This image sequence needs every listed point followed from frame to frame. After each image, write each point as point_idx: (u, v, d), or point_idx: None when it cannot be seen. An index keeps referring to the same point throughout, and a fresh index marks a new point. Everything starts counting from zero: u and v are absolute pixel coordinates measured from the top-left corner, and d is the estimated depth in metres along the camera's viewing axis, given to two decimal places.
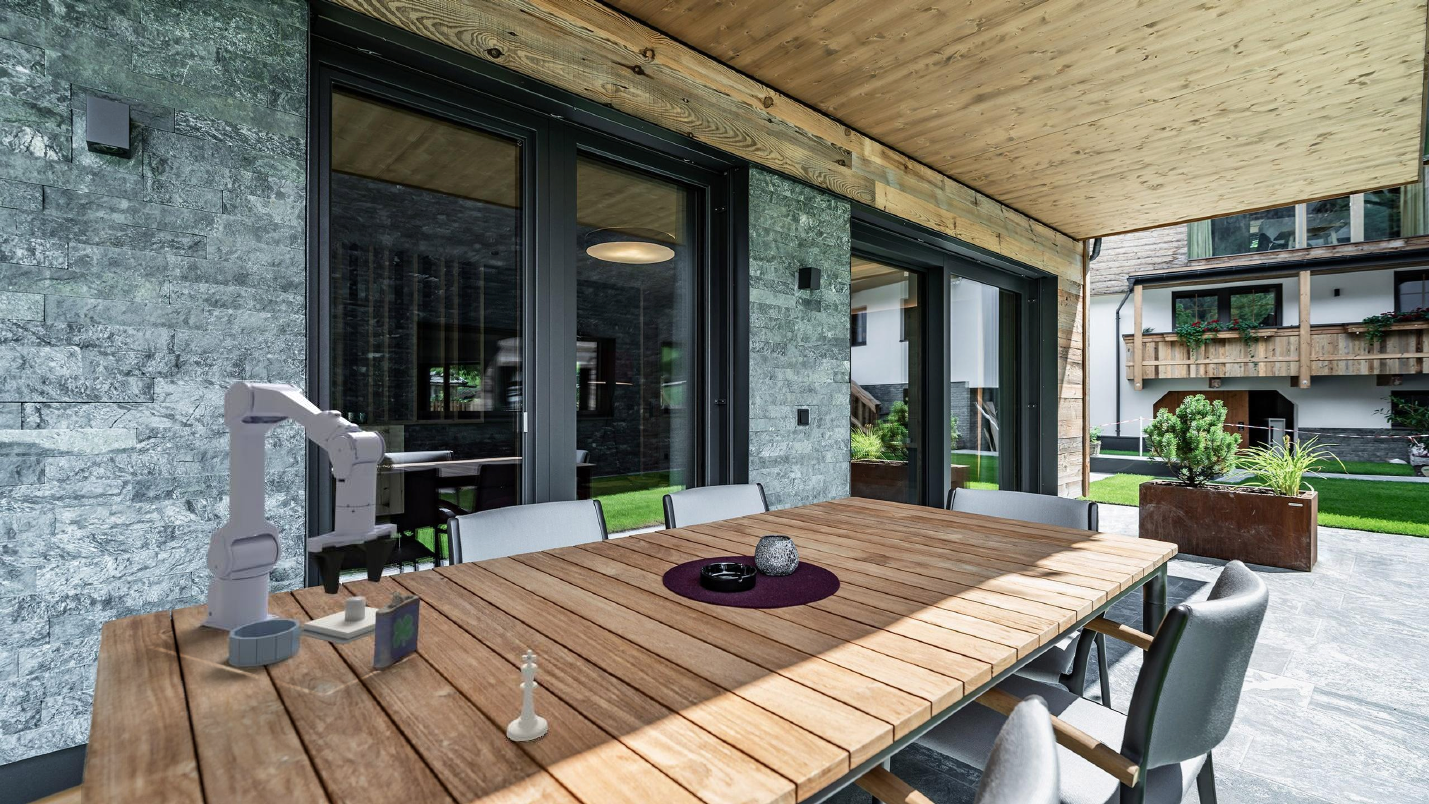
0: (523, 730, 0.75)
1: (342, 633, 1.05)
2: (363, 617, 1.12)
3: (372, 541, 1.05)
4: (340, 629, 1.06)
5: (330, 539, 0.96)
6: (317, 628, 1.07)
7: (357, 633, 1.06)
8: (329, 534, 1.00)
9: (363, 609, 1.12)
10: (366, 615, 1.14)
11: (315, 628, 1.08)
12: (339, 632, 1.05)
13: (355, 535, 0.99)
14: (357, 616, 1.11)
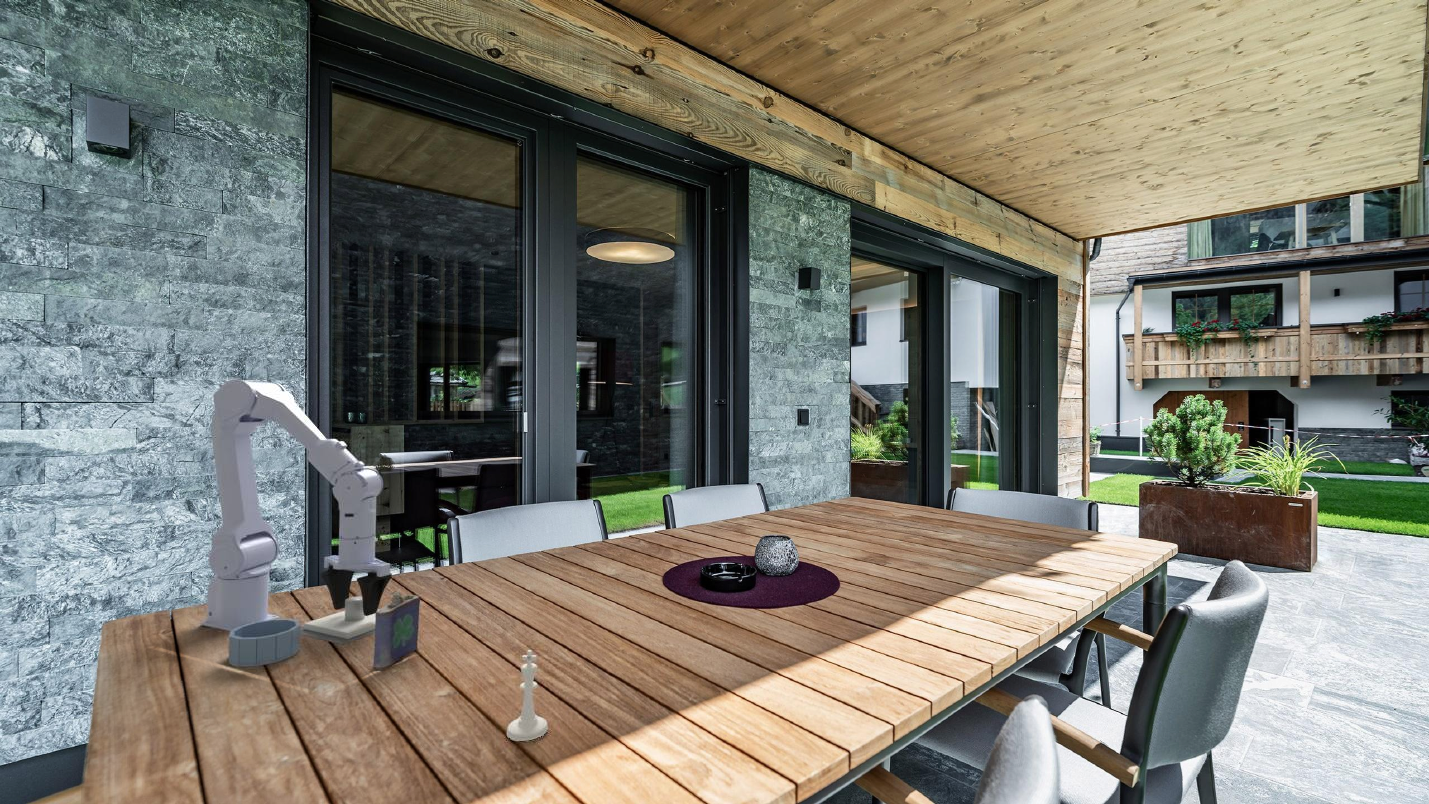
0: (523, 730, 0.75)
1: (342, 633, 1.05)
2: (363, 617, 1.12)
3: None
4: (340, 629, 1.06)
5: (330, 560, 1.13)
6: (317, 628, 1.07)
7: (357, 633, 1.06)
8: None
9: None
10: None
11: (315, 628, 1.08)
12: (339, 632, 1.05)
13: (338, 562, 1.10)
14: (357, 616, 1.11)
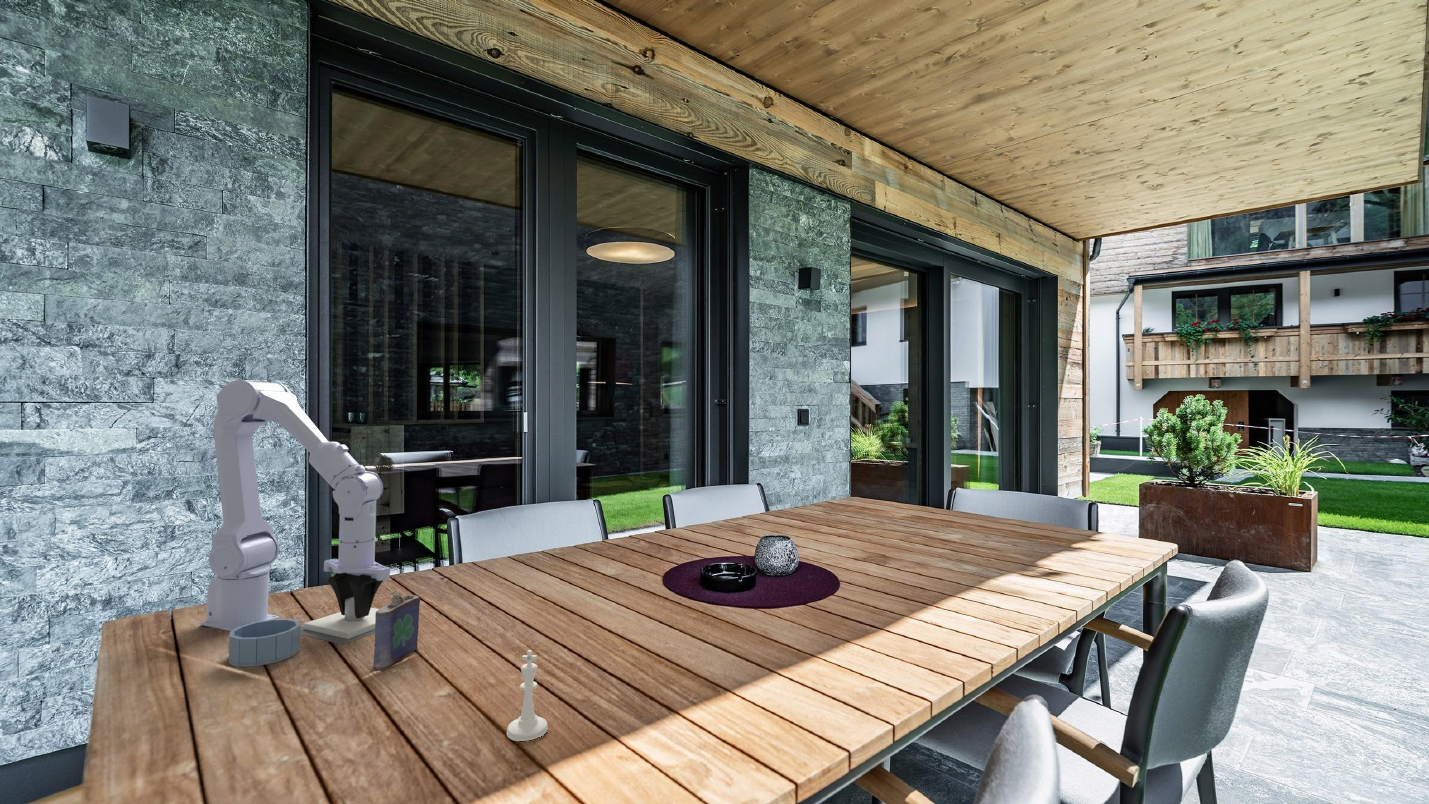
0: (523, 730, 0.75)
1: (342, 633, 1.05)
2: (363, 617, 1.12)
3: None
4: (340, 629, 1.06)
5: (329, 564, 1.13)
6: (317, 628, 1.07)
7: (357, 633, 1.06)
8: None
9: None
10: None
11: (315, 628, 1.08)
12: (339, 632, 1.05)
13: (338, 566, 1.10)
14: None
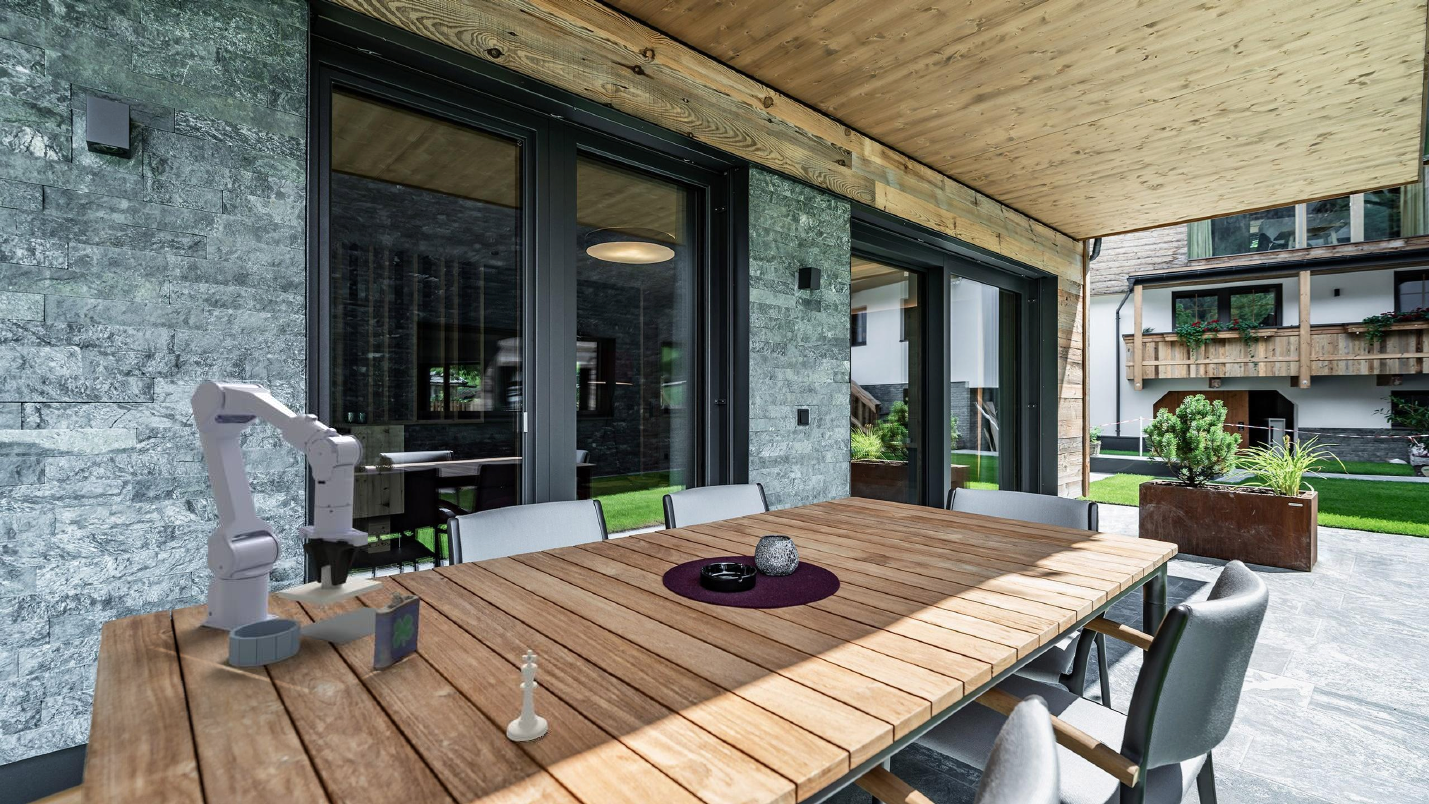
0: (523, 730, 0.75)
1: (318, 600, 1.01)
2: (340, 585, 1.07)
3: None
4: (316, 597, 1.02)
5: (305, 530, 1.08)
6: (292, 596, 1.03)
7: (334, 600, 1.02)
8: None
9: None
10: (344, 583, 1.10)
11: (290, 596, 1.03)
12: (315, 599, 1.01)
13: (313, 532, 1.06)
14: None
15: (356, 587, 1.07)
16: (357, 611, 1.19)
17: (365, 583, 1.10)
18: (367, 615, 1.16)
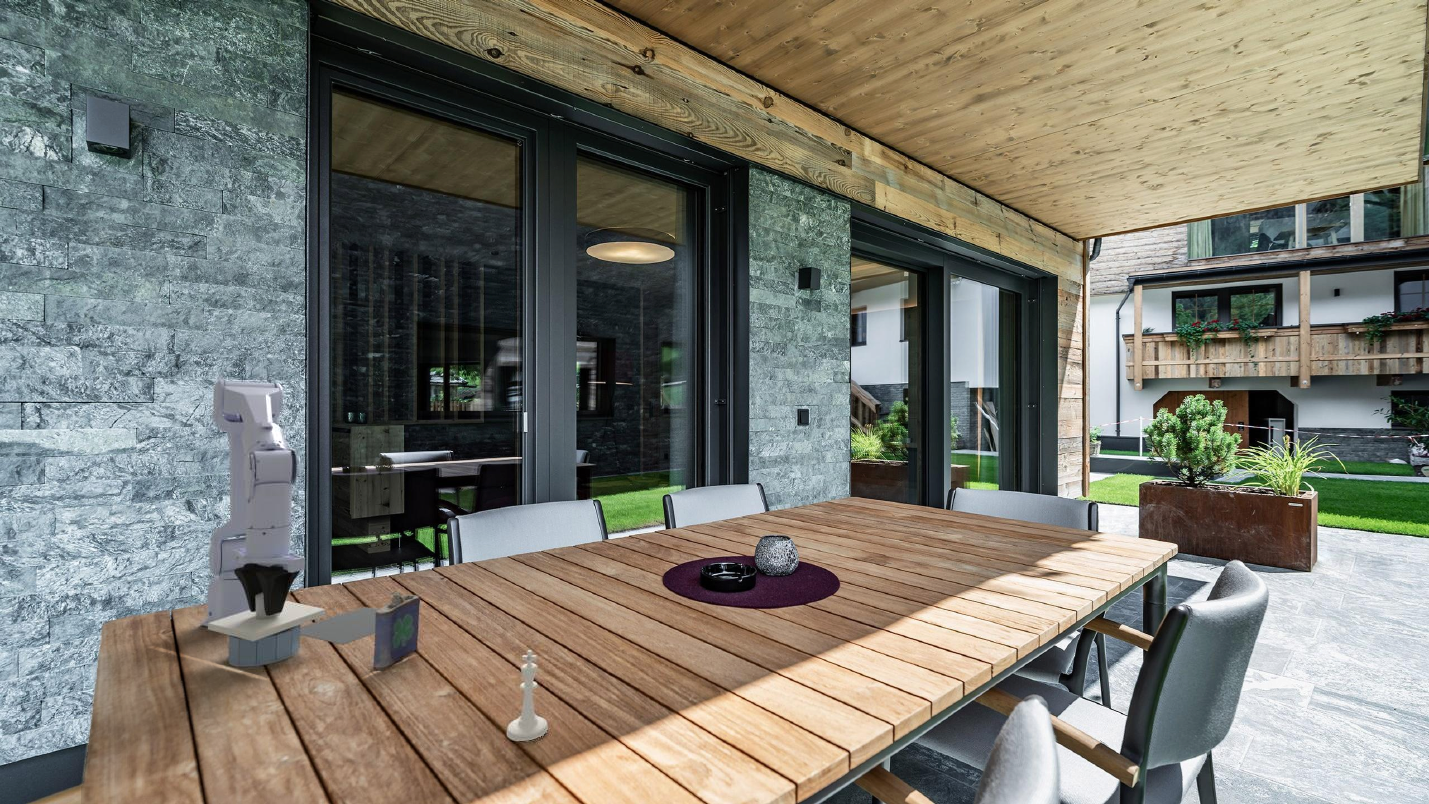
0: (523, 730, 0.75)
1: (247, 635, 0.91)
2: (277, 614, 0.98)
3: None
4: (246, 630, 0.92)
5: (238, 553, 0.98)
6: (221, 629, 0.94)
7: (266, 634, 0.92)
8: None
9: None
10: (283, 611, 1.00)
11: (219, 629, 0.94)
12: (244, 633, 0.91)
13: (245, 556, 0.96)
14: None
15: (294, 616, 0.97)
16: (357, 611, 1.19)
17: (306, 611, 1.00)
18: (367, 615, 1.16)
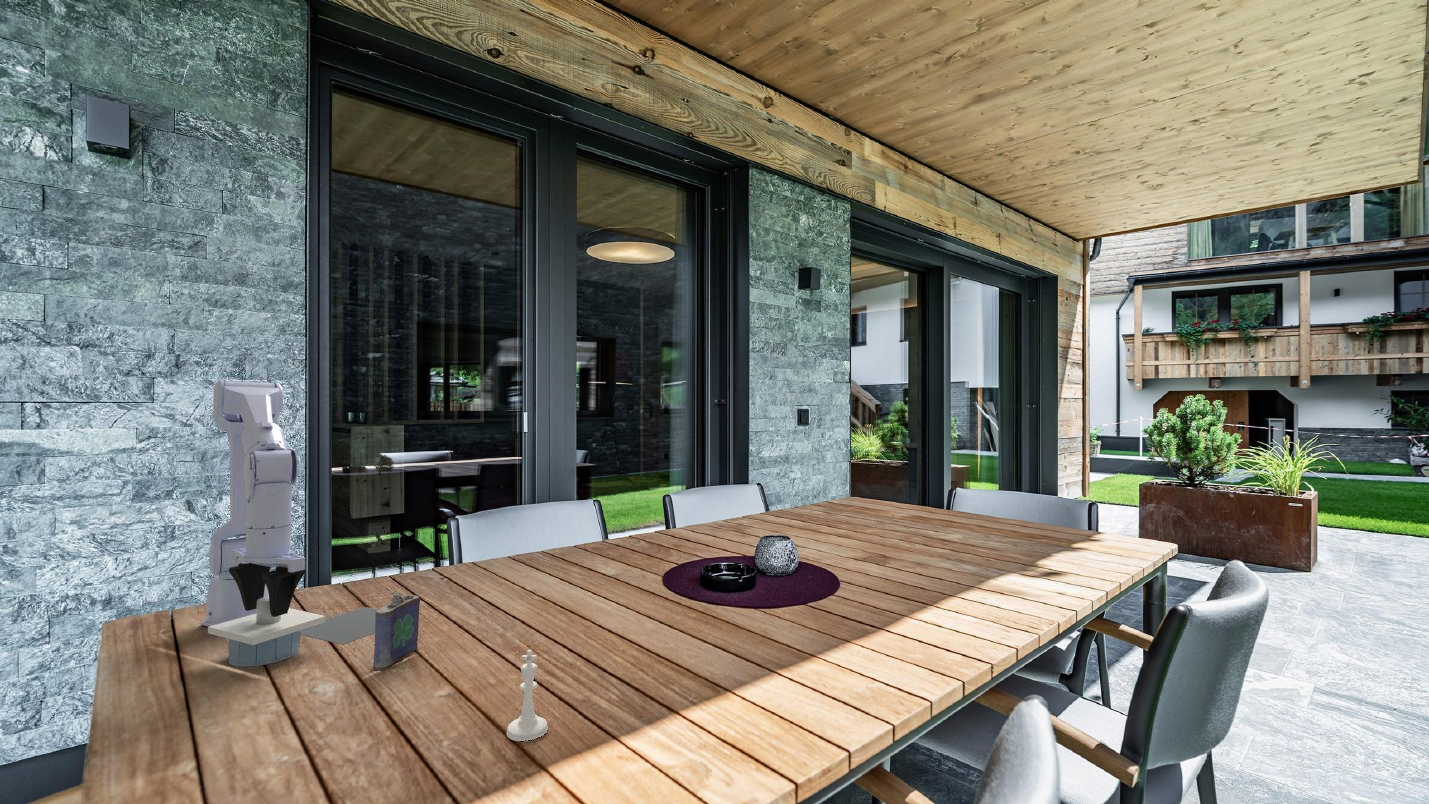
0: (523, 730, 0.75)
1: (247, 638, 0.91)
2: (278, 619, 0.98)
3: None
4: (246, 634, 0.92)
5: (238, 553, 0.98)
6: (221, 632, 0.94)
7: (265, 638, 0.92)
8: None
9: None
10: (283, 617, 1.00)
11: (219, 632, 0.94)
12: (244, 637, 0.91)
13: (245, 556, 0.96)
14: (270, 619, 0.97)
15: (295, 622, 0.97)
16: (357, 611, 1.19)
17: (306, 617, 1.00)
18: (367, 615, 1.16)
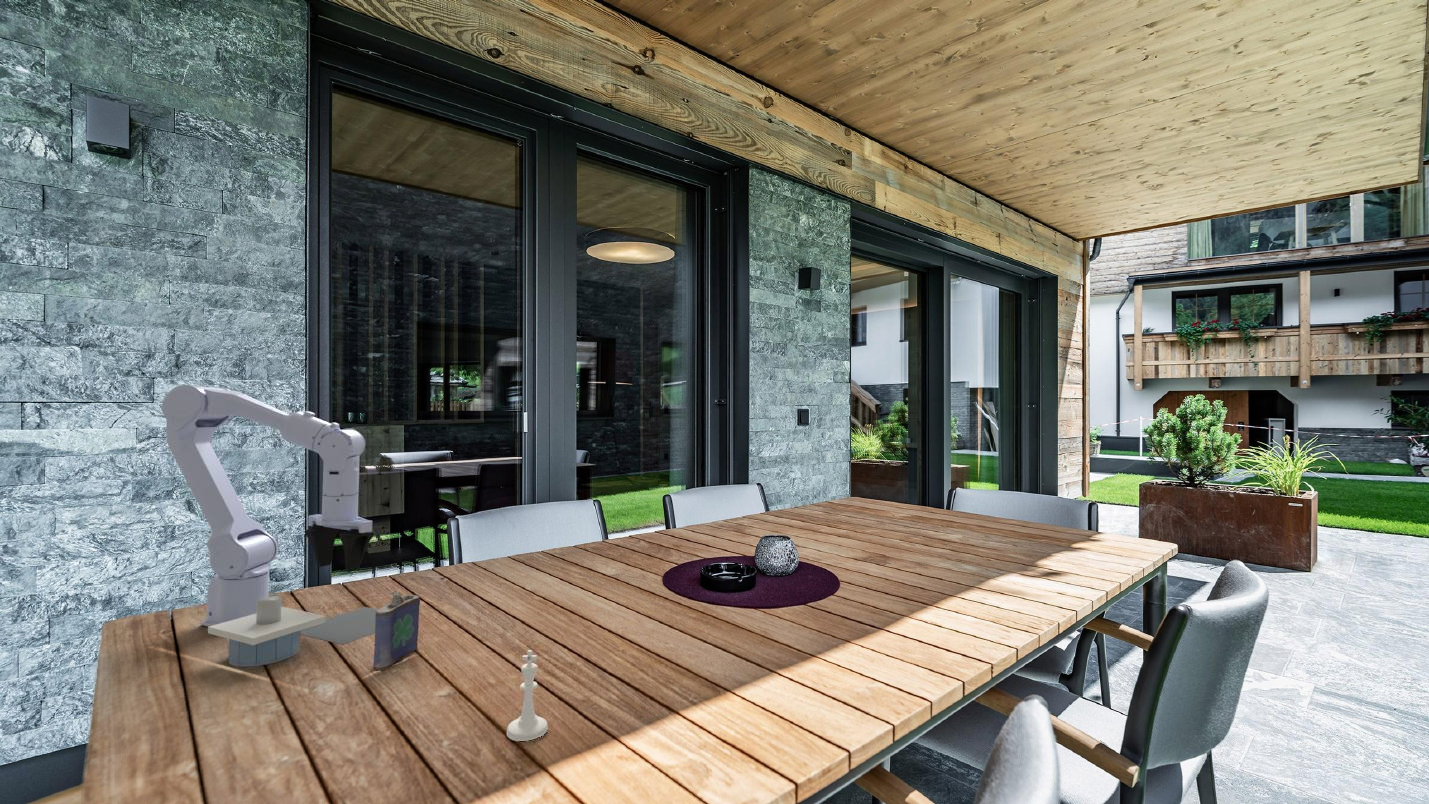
0: (523, 730, 0.75)
1: (247, 638, 0.91)
2: (278, 619, 0.98)
3: None
4: (246, 634, 0.92)
5: (314, 518, 1.15)
6: (221, 632, 0.94)
7: (265, 638, 0.92)
8: None
9: (278, 611, 0.98)
10: (283, 617, 1.00)
11: (219, 632, 0.94)
12: (244, 637, 0.91)
13: (321, 519, 1.12)
14: (270, 619, 0.97)
15: (295, 622, 0.97)
16: (357, 611, 1.19)
17: (306, 617, 1.00)
18: (367, 615, 1.16)
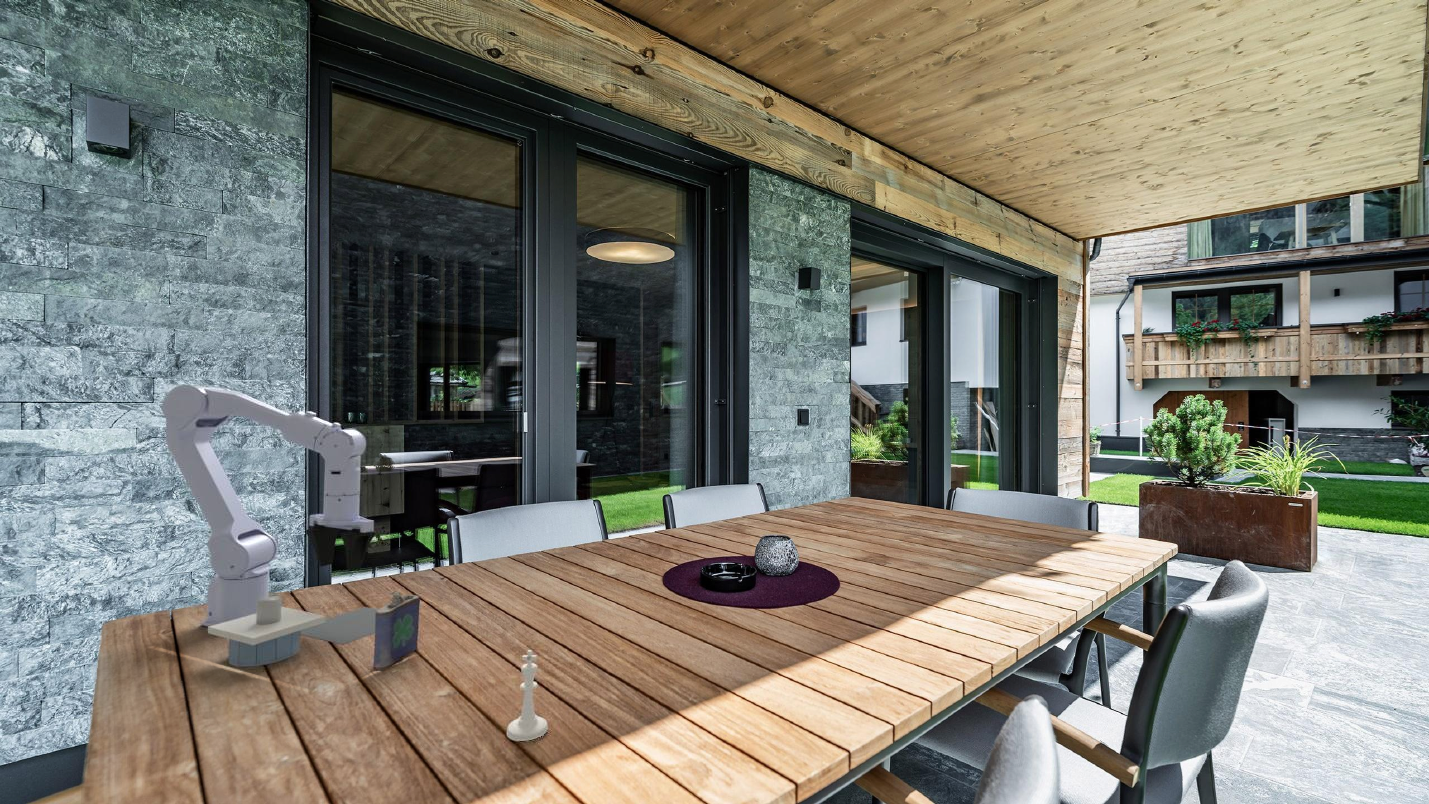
0: (523, 730, 0.75)
1: (247, 638, 0.91)
2: (278, 619, 0.98)
3: None
4: (246, 634, 0.92)
5: (315, 518, 1.15)
6: (221, 632, 0.94)
7: (265, 638, 0.92)
8: None
9: (278, 611, 0.98)
10: (283, 617, 1.00)
11: (219, 632, 0.94)
12: (244, 637, 0.91)
13: (323, 519, 1.13)
14: (270, 619, 0.97)
15: (295, 622, 0.97)
16: (357, 611, 1.19)
17: (306, 617, 1.00)
18: (367, 615, 1.16)
